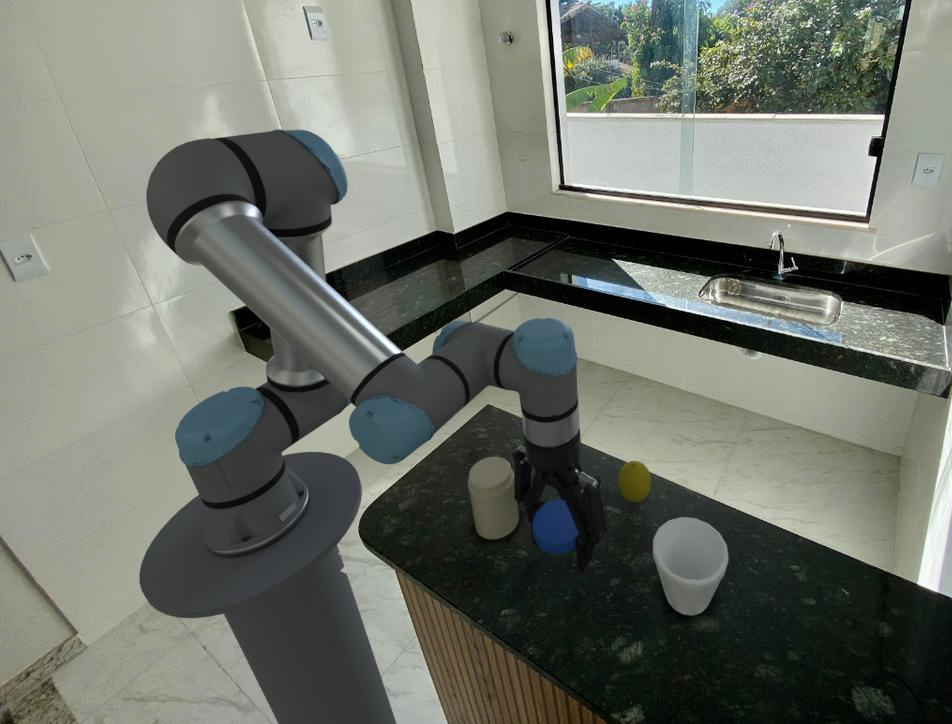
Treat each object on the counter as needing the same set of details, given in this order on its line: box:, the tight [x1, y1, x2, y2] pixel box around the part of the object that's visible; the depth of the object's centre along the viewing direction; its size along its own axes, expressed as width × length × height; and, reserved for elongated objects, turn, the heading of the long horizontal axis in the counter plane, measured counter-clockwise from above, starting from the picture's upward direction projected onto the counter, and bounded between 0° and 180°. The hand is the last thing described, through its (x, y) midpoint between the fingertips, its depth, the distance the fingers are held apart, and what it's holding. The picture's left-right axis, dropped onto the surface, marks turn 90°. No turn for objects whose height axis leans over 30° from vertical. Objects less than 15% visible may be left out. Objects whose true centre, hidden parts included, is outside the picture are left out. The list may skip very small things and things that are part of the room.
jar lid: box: [532, 498, 579, 554], centre depth 71 cm, size 8×8×2 cm
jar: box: [467, 456, 520, 540], centre depth 78 cm, size 7×7×11 cm
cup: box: [652, 516, 729, 617], centre depth 66 cm, size 10×10×9 cm
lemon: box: [617, 460, 652, 503], centre depth 82 cm, size 6×6×8 cm
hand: (562, 550), depth 73 cm, fingers closed on jar lid, 8 cm apart
